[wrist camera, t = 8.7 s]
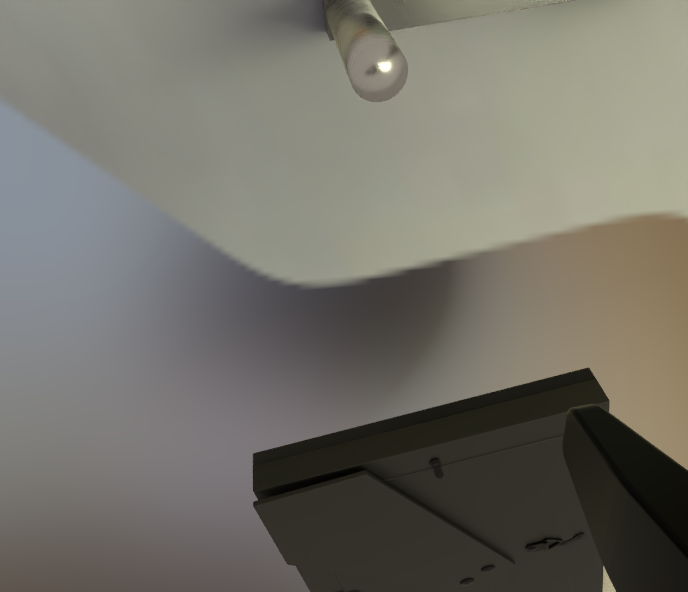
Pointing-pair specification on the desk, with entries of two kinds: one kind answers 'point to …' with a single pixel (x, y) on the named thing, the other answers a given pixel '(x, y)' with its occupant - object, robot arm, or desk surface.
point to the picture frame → (438, 498)
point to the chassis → (377, 43)
